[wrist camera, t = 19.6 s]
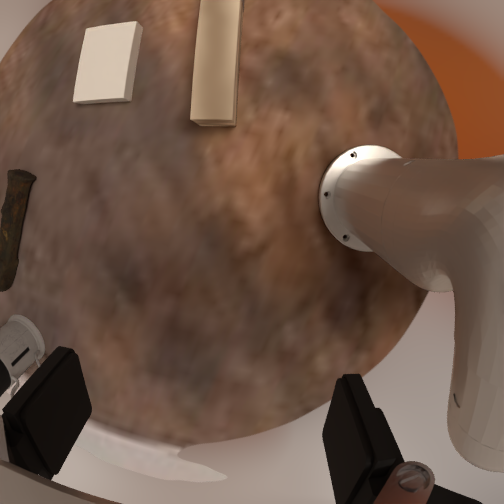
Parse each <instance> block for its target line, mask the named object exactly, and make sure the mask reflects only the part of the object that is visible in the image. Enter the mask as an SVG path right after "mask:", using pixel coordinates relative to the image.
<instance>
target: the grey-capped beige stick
mask: <svg viewBox="0 0 504 504" xmlns="http://www.w3.org/2000/svg"><path fill="white" fill-rule="evenodd" d="M243 12H244V0H201V3H200V11H199V20H198V29H197V39H196V49H195V61H194V72H193V85H192V100H191V116H190V120H192V121H194V122H195V123H197V124H198V125H200V126H234V127H236V119H237V100H238V82H239V66H240V50H241V35H242V20H243Z"/></svg>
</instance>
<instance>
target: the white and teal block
mask: <svg viewBox="0 0 504 504" xmlns="http://www.w3.org/2000/svg"><path fill="white" fill-rule="evenodd" d="M142 31H143V28H142V26H141V25H140V24H139V23H138V22H137V21H134V22H126V23H118V24H111V25H104V26H98V27H93V28H87V29H86V33H85V37H84V42H83V46H82V51H81V56H80V61H79V66H78V72H77V78H76V84H75V91H74V98H73V102H76V103H79V104H93V103H106V102H125V101H131V99H132V91H133V84H134V77H135V70H136V64H137V58H138V52H139V47H140V41H141V36H142Z"/></svg>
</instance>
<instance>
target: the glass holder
mask: <svg viewBox="0 0 504 504" xmlns="http://www.w3.org/2000/svg"><path fill="white" fill-rule="evenodd" d="M44 353H45V344H44V340H43V338H42V335H41V334H40V332H39V330H38V329H37V327H36V326H35V325H34V324H33V323H32V322H31V321H30V320H29V319H28V318H26V317H24V316H22V315H18V314H15V315H12V316H11V317H10V318H9V320H8V322H7V323H6V324H5V325H4V326H3V327H1V328H0V397H1V395H2V394H3V393H4V392H5V391H6V390H7V389H9V388H10V387H11V386H12V385H13V384H14V383H15V382H17V383H16V385H15V386H14V387H13V389H12V391H11V399H12V397H13V396H14V393H15V391H16V390H17V389H18V387H19V380H18V378H19V377H20V376H21V375H22V374H23V373H24V372H25V371H26V370H27V369H28V368H29V367H30V366H31V364H32V363H33V362H34V361H35V360H36V362H37V365H38V367H40V366H41V365H40V363H39V359H41V358H42V357H43V355H44Z"/></svg>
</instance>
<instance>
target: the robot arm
mask: <svg viewBox="0 0 504 504" xmlns="http://www.w3.org/2000/svg"><path fill="white" fill-rule="evenodd" d="M351 153H353V157H351V156H350V154H351ZM325 192H327V193H328V195H327V196H324V193H325ZM319 208H320V212H321V216H322V218H323V220H324V223H325V225H326V227H327V228H328V229H329V231H330V232H331V234H332V235H333V236H334V237H335V238H336V239H337V240H339V241H340V242H341V243H342V244H344V245H346V246H348V247H350V248H352V249H355V250H358V251H365V252H373V251H374V252H375V253H376V254H377V255H379V256H380V257H381V258H382V259H383V260H385V261H386V262H387V263H388V264H389V265H391V266H392V267H393V268H394V269H395V270H397V271H398V272H399V273H400V274H402V275H403V276H404V277H405V278H407V279H408V280H409V281H411V282H412V283H413V284H415V285H417V286H418V287H420V288H422V289H425V290H428V291H433V292H449V291H453V292H454V300H455V331H454V340H455V347H454V358H453V369H452V377H451V385H450V394H449V400H448V411H447V426H448V432H449V436H450V439H451V441H452V443H453V446H454V447H455V449H456V451H457V452H458V453H459V454H460V456H462V457H463V458H464V459H465V460H466V461H468V462H469V463H471V464H472V465H474V466H476V467H478V468H481V469H484V470H488V471H493V472H503V473H504V155H499V156H493V157H487V158H478V159H465V160H464V159H463V160H456V159H413V158H402V157H400V156H399V155H398V154H397V153H395V152H394V151H392V150H390V149H388V148H385V147H382V146H378V145H360V146H357V147H353V148H350V149H348V150H346V151H344V152H342V153H341V154H340V155H339V156H337V157H336V158H335V159H334V160H333V161H332V162H331V164H330V165H329V166H328V168H327V169H326V171H325V173H324V175H323V178H322V181H321V184H320V189H319ZM344 235H346V238H343V236H344ZM2 410H3V412H4V413H3V414H2V415H0V504H121V503H118V502H114V501H110V500H106V499H103V498H100V497H96V496H93V495H90V494H87V493H84V492H81V491H78V490H75V489H72V488H69V487H66V486H64V485H61V484H59V483H56V482H54V481H51V479H52V477H53V476H54V474H55V475H56V474H58V473H59V471H60V469H61V467H62V465H63V463H64V462H65V460H66V458H67V456H68V454H69V452H70V451H71V449H72V447H73V445H74V443H75V442H76V440H77V438H78V436H79V434H80V433H81V431H82V429H83V427H84V425H85V424H86V422H87V420H88V418H89V417H90V415H91V412H92V406H91V402H90V399H89V395H88V392H87V388H86V385H85V381H84V377H83V373H82V369H81V365H80V361H79V357H78V355H77V354H76V353H75V351H74V350H73V349H70V348H66V347H61V346H59V347H57V348H56V349H55V350H54V351H53V353H52V354H51V355H50V356H49V357H48V358H47V359H46V360H45V361H44V362H43V363H42V365H41V366H40V367H39V368H38V369H37V370H36V371H35V372H34V373H33V375H32V376H31V377H30V378H29V379H28V380H27V381H26V382H25V384H24V385H23V386H22V387H21V388H20V389H19V390H18V392H17V393H16V394H15V395H14V396H13V397H12V399H11V400H10V401H9V402H8V403H7V405H6V406H5V407H4V408H3V409H2ZM322 437H323V443H324V447H325V452H326V457H327V462H328V466H329V471H330V476H331V481H332V486H333V490H334V496H335V500H336V504H482V503H481V502H479V501H477V500H475V499H471V498H469V497H466V496H464V495H461V494H458V493H456V492H453V491H450V490H448V489H445V488H443V487H441V486H438V485H436V484H434V483H435V478H434V474H433V472H432V470H431V469H430V468H429V467H428V466H426V465H424V464H422V463H420V462H415V461H408V462H404V459H403V457H402V455H401V452H400V450H399V448H398V445H397V443H396V441H395V438H394V436H393V434H392V432H391V429H390V427H389V425H388V423H387V420H386V418H385V416H384V414H383V412H382V410H381V409H380V408H375V407H374V404H373V402H372V400H371V397H370V395H369V393H368V391H367V388H366V386H365V384H364V382H363V379H362V377H361V375H360V374H344V375H343V376H342V378H338V379H337V381H336V385H335V389H334V393H333V396H332V400H331V404H330V407H329V411H328V414H327V418H326V421H325V424H324V428H323V433H322ZM38 474H39V475H38ZM41 476H42V477H41Z"/></svg>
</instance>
